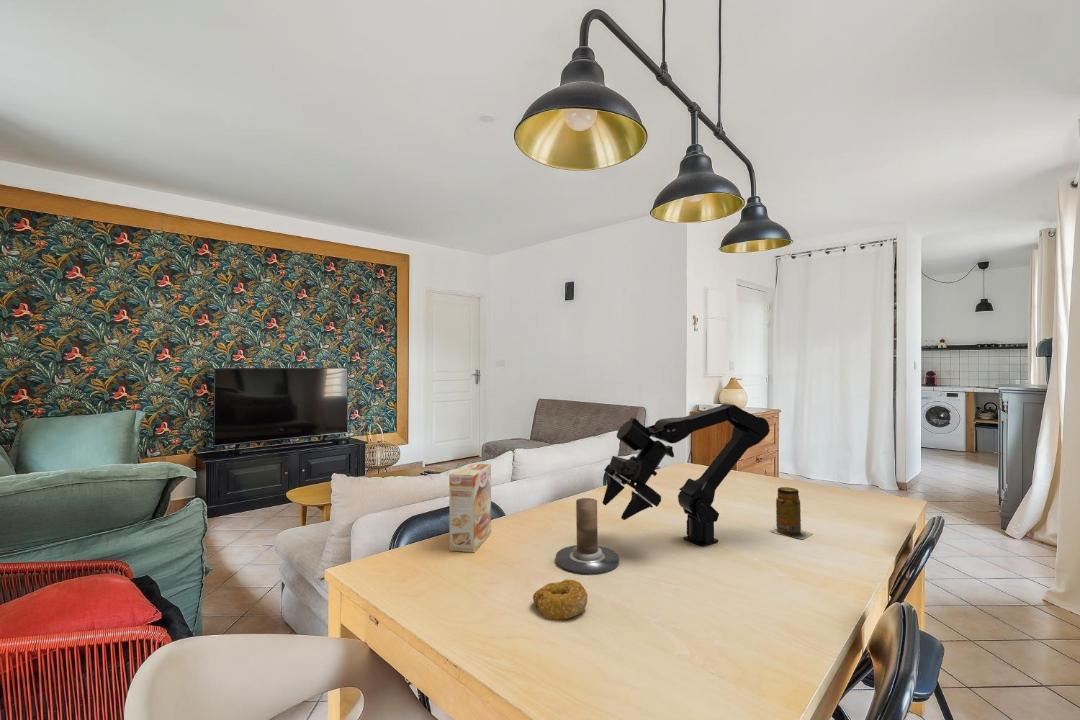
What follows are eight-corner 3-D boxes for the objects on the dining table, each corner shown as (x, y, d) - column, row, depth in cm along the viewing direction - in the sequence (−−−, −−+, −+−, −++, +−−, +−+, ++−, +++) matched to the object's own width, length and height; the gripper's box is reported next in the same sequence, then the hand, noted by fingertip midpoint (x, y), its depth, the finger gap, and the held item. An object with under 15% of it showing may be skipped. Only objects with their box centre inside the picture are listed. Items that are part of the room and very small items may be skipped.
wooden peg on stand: (606, 553, 118) (606, 499, 118) (594, 563, 112) (593, 506, 112) (580, 548, 121) (580, 495, 122) (567, 557, 115) (566, 502, 116)
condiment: (782, 526, 140) (781, 484, 140) (813, 534, 134) (812, 490, 134) (770, 532, 136) (769, 489, 136) (802, 540, 129) (801, 495, 129)
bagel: (552, 590, 102) (552, 567, 102) (597, 607, 95) (597, 582, 95) (521, 610, 94) (521, 585, 94) (568, 629, 87) (568, 603, 87)
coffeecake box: (474, 553, 122) (474, 475, 123) (448, 551, 124) (447, 474, 124) (492, 533, 137) (491, 463, 137) (468, 531, 138) (467, 462, 139)
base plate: (632, 565, 114) (632, 559, 114) (579, 580, 106) (579, 573, 106) (593, 545, 127) (593, 540, 127) (544, 557, 119) (544, 551, 119)
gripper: (608, 435, 132) (574, 482, 130) (648, 455, 115) (610, 511, 113) (634, 456, 136) (602, 503, 134) (677, 479, 119) (641, 533, 117)
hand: (612, 511), depth 124 cm, fingers open, 9 cm apart
